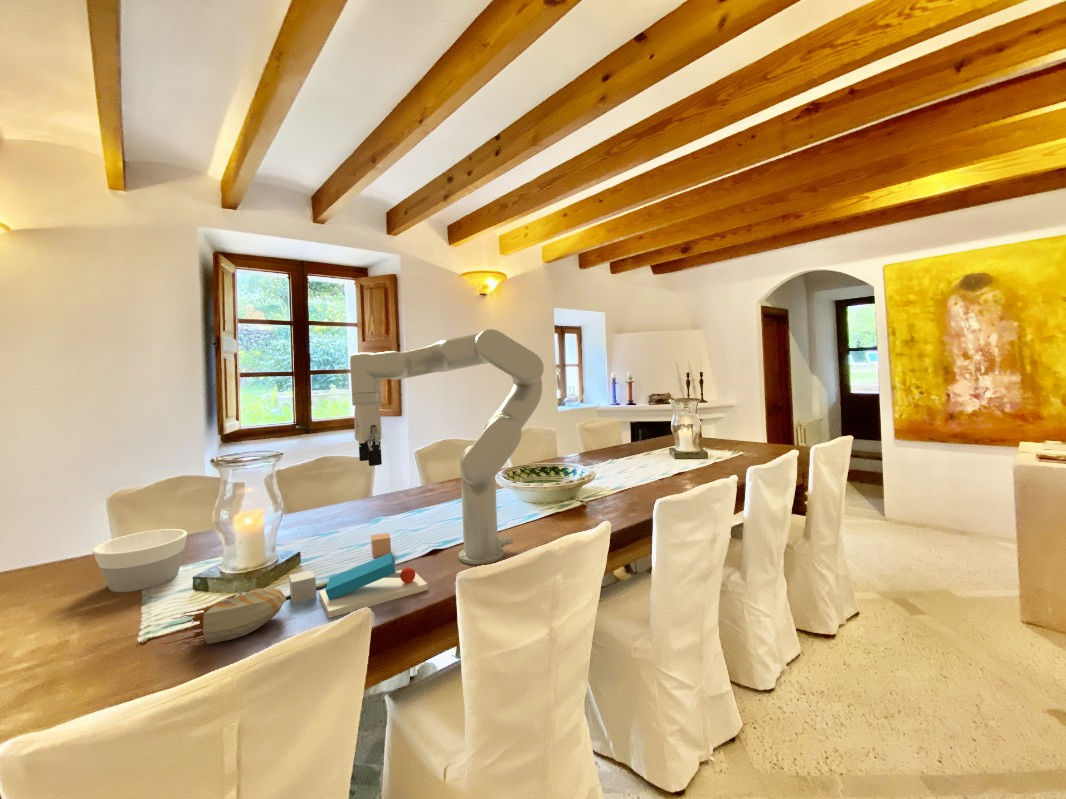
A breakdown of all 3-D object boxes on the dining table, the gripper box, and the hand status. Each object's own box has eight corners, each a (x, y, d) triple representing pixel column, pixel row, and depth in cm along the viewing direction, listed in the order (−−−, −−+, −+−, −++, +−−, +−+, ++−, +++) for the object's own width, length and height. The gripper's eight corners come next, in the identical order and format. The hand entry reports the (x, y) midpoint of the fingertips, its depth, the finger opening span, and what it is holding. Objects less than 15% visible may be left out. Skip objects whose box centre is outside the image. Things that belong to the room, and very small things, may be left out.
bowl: (137, 599, 114) (134, 555, 113) (74, 594, 118) (71, 552, 117) (207, 567, 133) (204, 529, 132) (151, 564, 137) (148, 527, 136)
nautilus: (149, 670, 86) (178, 633, 100) (282, 636, 94) (291, 606, 108) (144, 627, 86) (173, 596, 100) (277, 596, 93) (287, 572, 107)
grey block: (313, 590, 116) (312, 570, 116) (316, 597, 112) (315, 576, 112) (290, 595, 113) (289, 575, 113) (292, 603, 109) (291, 582, 109)
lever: (336, 619, 107) (418, 584, 112) (325, 590, 106) (407, 556, 111) (340, 605, 114) (416, 572, 119) (329, 577, 113) (407, 546, 118)
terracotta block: (389, 549, 143) (388, 532, 142) (391, 554, 138) (390, 537, 138) (371, 552, 141) (370, 535, 140) (373, 557, 136) (372, 540, 136)
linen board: (410, 573, 124) (410, 567, 124) (427, 589, 114) (427, 583, 114) (319, 597, 112) (318, 591, 112) (329, 618, 102) (328, 611, 102)
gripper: (345, 399, 133) (348, 460, 133) (360, 401, 118) (364, 469, 119) (372, 398, 137) (375, 457, 137) (390, 399, 122) (394, 465, 123)
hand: (370, 462), depth 128 cm, fingers open, 9 cm apart
